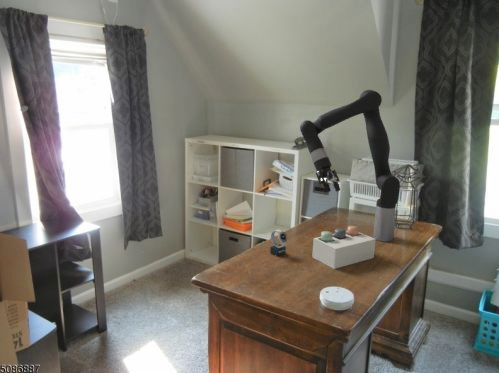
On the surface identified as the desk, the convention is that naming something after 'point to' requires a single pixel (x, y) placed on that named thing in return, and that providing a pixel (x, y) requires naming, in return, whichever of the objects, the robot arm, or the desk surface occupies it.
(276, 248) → the watch
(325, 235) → the sage button
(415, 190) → the geometric lantern
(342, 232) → the charcoal button
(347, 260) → the button console
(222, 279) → the desk surface
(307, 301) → the desk surface
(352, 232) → the terracotta button
